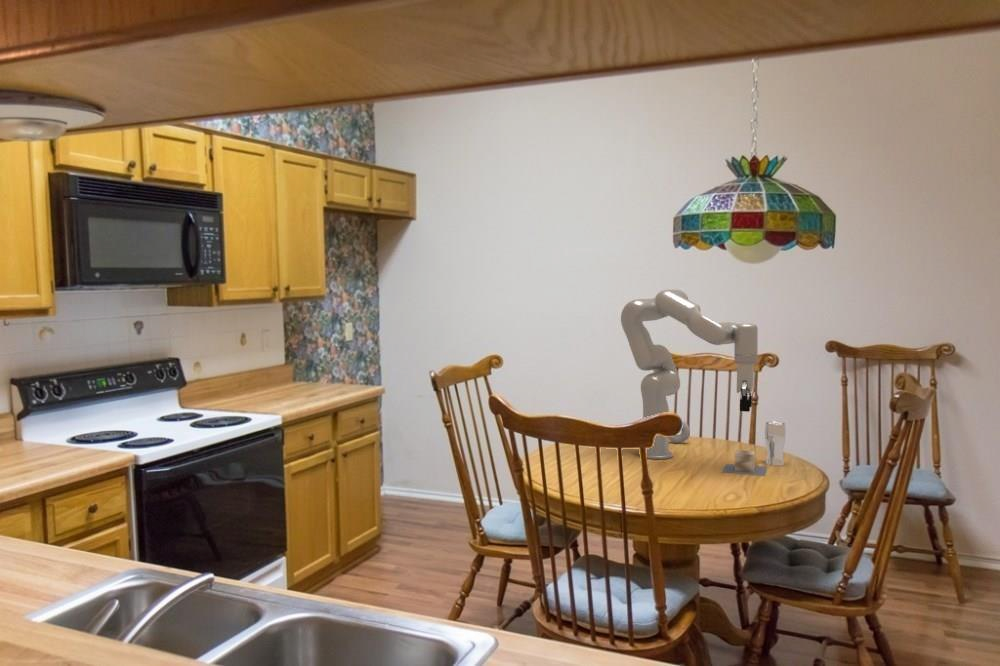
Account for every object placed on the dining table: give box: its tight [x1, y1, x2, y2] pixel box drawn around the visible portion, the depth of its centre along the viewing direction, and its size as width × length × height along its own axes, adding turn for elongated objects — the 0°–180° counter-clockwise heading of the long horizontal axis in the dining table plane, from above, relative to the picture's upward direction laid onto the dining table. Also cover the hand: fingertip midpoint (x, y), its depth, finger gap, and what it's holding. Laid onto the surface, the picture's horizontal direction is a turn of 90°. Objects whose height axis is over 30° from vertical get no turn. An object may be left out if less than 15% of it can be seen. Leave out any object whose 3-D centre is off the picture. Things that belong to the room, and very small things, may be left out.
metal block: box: [734, 449, 756, 472], centre depth 258 cm, size 6×6×6 cm
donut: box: [669, 420, 691, 444], centre depth 305 cm, size 10×4×10 cm, turn 68°
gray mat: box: [721, 463, 768, 477], centre depth 259 cm, size 14×14×1 cm
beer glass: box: [764, 421, 787, 466], centre depth 267 cm, size 7×7×15 cm
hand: (745, 409), depth 257 cm, fingers open, 9 cm apart
